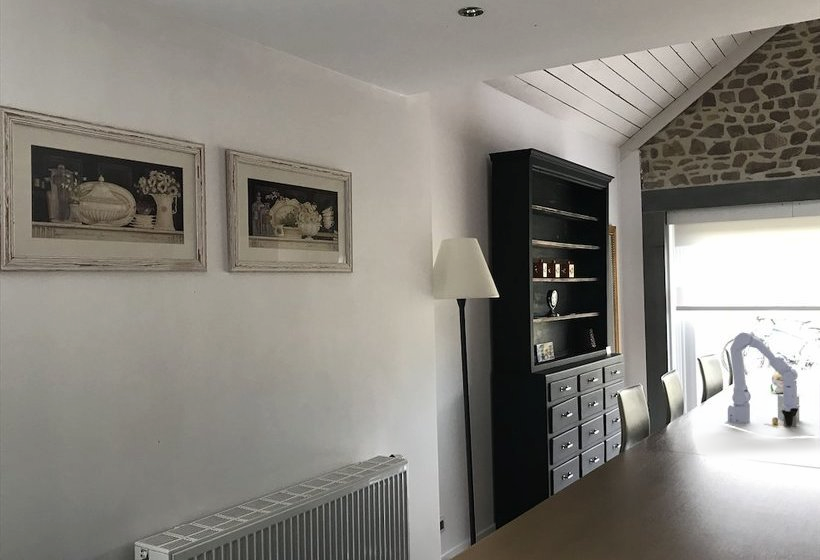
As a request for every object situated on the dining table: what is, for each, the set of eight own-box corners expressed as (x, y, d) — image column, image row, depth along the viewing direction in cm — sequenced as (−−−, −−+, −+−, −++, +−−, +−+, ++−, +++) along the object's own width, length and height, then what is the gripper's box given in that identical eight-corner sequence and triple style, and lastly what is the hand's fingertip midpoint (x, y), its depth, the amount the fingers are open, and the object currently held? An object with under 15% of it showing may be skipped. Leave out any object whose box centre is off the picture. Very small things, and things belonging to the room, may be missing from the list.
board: (776, 430, 348) (776, 427, 348) (763, 426, 358) (763, 423, 358) (802, 429, 351) (802, 426, 351) (788, 424, 361) (788, 422, 361)
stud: (774, 425, 355) (774, 417, 355) (771, 424, 358) (771, 416, 358) (779, 424, 356) (779, 417, 356) (775, 423, 358) (775, 416, 358)
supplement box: (799, 422, 366) (799, 396, 366) (784, 422, 366) (784, 396, 366) (792, 419, 374) (792, 394, 374) (777, 419, 374) (777, 394, 374)
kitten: (764, 392, 466) (764, 367, 466) (778, 391, 469) (777, 366, 469) (783, 395, 452) (783, 370, 452) (797, 394, 455) (796, 369, 455)
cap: (788, 427, 350) (788, 417, 350) (781, 425, 355) (781, 415, 355) (799, 426, 351) (798, 417, 351) (791, 424, 356) (791, 415, 356)
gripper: (797, 398, 345) (797, 428, 345) (801, 394, 357) (802, 423, 357) (779, 396, 349) (780, 426, 349) (785, 392, 361) (785, 421, 361)
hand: (790, 424), depth 353 cm, fingers open, 6 cm apart
